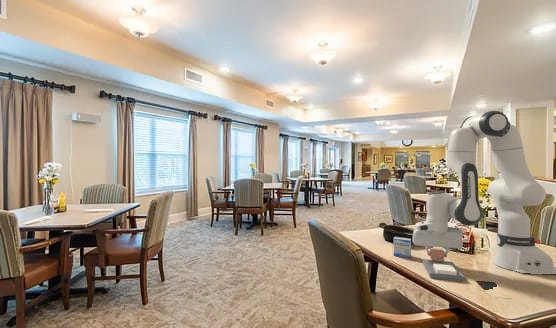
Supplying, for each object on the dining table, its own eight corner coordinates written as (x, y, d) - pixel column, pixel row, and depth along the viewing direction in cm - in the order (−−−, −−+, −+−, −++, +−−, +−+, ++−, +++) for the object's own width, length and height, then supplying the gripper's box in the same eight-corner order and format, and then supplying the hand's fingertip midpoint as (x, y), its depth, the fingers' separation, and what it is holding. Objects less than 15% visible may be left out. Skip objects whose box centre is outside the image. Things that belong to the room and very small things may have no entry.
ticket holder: (452, 266, 128) (452, 258, 128) (464, 281, 112) (464, 272, 112) (422, 263, 131) (423, 255, 131) (430, 277, 115) (430, 269, 115)
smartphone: (489, 296, 99) (474, 279, 113) (489, 298, 99) (474, 281, 113) (513, 299, 97) (494, 281, 111) (513, 300, 98) (494, 283, 111)
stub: (441, 257, 133) (441, 248, 133) (444, 260, 128) (444, 252, 128) (429, 256, 134) (429, 247, 134) (431, 259, 130) (431, 251, 130)
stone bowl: (370, 239, 169) (371, 224, 170) (390, 235, 186) (390, 221, 186) (413, 248, 151) (413, 231, 151) (430, 243, 168) (431, 227, 168)
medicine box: (393, 255, 142) (393, 238, 142) (394, 253, 146) (394, 236, 146) (410, 258, 138) (410, 240, 138) (411, 255, 142) (411, 238, 142)
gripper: (460, 226, 131) (460, 256, 131) (412, 223, 137) (411, 251, 137) (465, 229, 125) (464, 260, 125) (413, 226, 131) (413, 255, 131)
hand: (436, 256), depth 131 cm, fingers closed on stub, 5 cm apart
